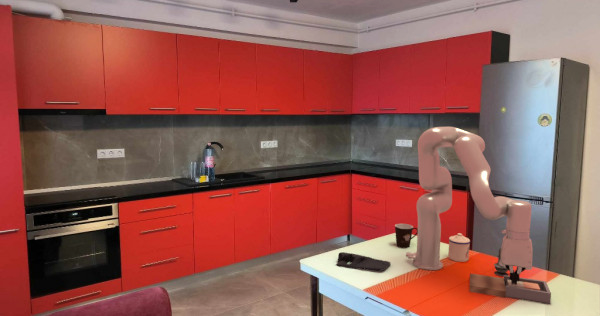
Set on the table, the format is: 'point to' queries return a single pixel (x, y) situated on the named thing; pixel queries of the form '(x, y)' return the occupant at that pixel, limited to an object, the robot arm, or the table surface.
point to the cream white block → (520, 284)
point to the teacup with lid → (459, 248)
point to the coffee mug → (404, 235)
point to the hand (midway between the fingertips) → (514, 282)
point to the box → (529, 291)
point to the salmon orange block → (531, 286)
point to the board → (487, 285)
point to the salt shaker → (500, 267)
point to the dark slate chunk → (361, 262)
